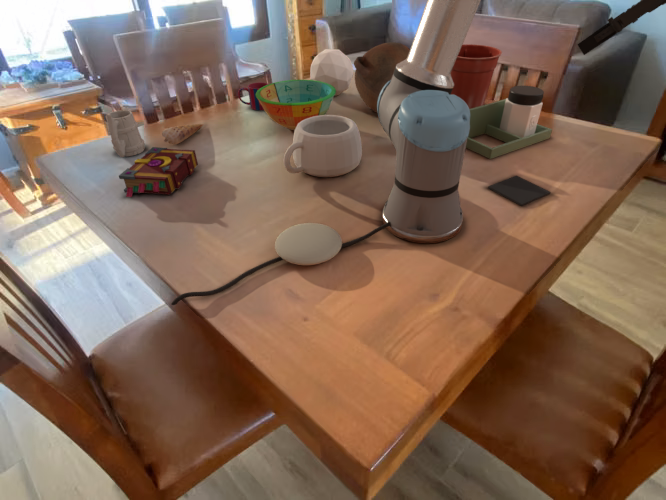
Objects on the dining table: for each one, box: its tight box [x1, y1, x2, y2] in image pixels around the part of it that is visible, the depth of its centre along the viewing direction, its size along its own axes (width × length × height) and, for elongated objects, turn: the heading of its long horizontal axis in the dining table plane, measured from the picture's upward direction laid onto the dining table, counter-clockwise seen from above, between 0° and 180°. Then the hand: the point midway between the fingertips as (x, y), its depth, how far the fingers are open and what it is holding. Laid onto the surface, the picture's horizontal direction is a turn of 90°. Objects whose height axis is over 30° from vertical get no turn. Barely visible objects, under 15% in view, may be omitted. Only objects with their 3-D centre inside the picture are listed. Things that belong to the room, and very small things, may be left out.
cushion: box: [274, 222, 343, 266], centre depth 76 cm, size 12×12×3 cm
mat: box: [487, 175, 552, 207], centre depth 92 cm, size 9×9×1 cm
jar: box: [499, 85, 545, 138], centre depth 112 cm, size 9×8×12 cm
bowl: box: [256, 79, 336, 131], centre depth 122 cm, size 22×22×10 cm
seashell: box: [161, 123, 205, 145], centre depth 118 cm, size 4×18×5 cm, turn 159°
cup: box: [237, 81, 269, 111], centre depth 136 cm, size 7×10×7 cm
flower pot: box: [451, 43, 503, 109], centre depth 130 cm, size 16×16×16 cm
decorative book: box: [118, 146, 199, 198], centre depth 98 cm, size 11×16×5 cm
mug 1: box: [105, 109, 146, 158], centre depth 108 cm, size 8×12×12 cm, turn 5°
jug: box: [353, 41, 411, 114], centre depth 122 cm, size 20×20×30 cm
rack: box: [465, 98, 553, 160], centre depth 111 cm, size 22×13×8 cm, turn 121°
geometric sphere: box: [309, 48, 354, 97], centre depth 143 cm, size 14×15×15 cm
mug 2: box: [283, 114, 363, 178], centre depth 100 cm, size 21×17×10 cm
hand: (589, 43), depth 95 cm, fingers open, 13 cm apart
